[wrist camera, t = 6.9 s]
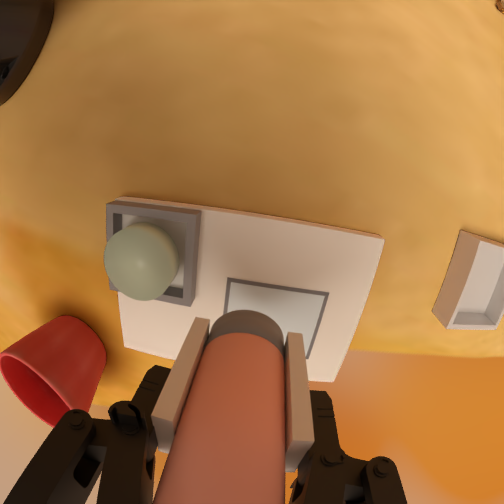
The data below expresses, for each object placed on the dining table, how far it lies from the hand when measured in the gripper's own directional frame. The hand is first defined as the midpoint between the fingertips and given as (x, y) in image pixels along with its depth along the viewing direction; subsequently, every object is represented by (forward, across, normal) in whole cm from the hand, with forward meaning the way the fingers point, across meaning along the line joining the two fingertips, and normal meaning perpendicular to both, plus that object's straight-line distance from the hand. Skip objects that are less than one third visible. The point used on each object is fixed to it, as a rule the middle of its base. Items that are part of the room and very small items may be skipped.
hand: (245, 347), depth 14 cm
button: (+5, -8, +2) cm, 10 cm away
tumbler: (+1, 0, 0) cm, 1 cm away
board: (+8, -1, -2) cm, 8 cm away
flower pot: (+8, -18, -12) cm, 23 cm away
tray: (+8, +21, +3) cm, 22 cm away
